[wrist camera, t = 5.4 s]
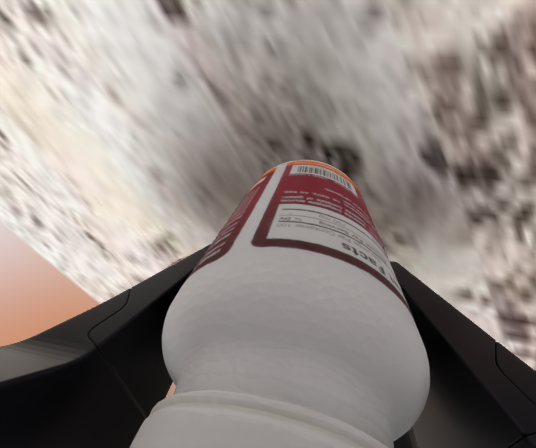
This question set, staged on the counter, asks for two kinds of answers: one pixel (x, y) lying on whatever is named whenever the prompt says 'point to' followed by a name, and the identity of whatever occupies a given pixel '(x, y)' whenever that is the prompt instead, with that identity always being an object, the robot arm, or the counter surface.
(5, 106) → the counter surface
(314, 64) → the counter surface
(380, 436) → the pill bottle
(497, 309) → the counter surface
